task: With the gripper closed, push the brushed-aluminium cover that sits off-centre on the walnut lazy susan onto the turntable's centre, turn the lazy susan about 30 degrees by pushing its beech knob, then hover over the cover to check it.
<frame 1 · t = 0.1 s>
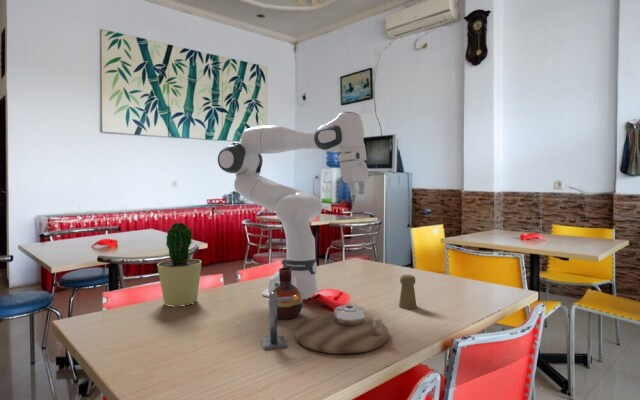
hand: (357, 194, 147), 39 cm above the table, tool pointing down, fingers open, 8 cm apart
vase: (286, 316, 133), on the table
lazy susan: (341, 324, 115), point 3 cm above the table, hinge at 0.0°, touching aluminium cover
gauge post: (273, 344, 110), on the table
olive pawn: (407, 307, 141), on the table
potted cactus: (180, 303, 149), on the table
aluminium cover: (349, 321, 121), point 2 cm above the table, touching lazy susan
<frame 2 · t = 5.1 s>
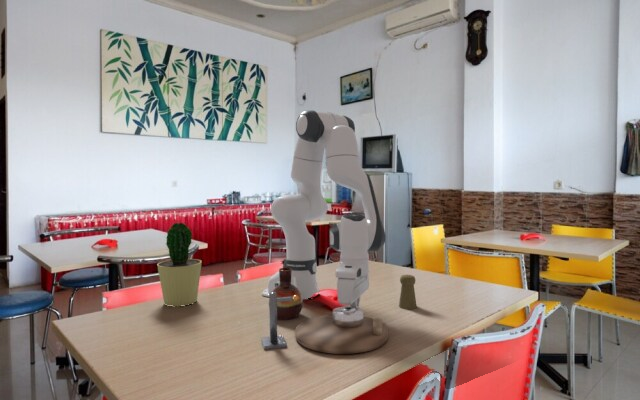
hand: (354, 311, 125), 4 cm above the table, tool pointing down, fingers closed
lazy susan: (341, 324, 115), point 3 cm above the table, hinge at 0.0°
aluminium cover: (348, 322, 120), point 2 cm above the table, touching gripper
everything else where it was.
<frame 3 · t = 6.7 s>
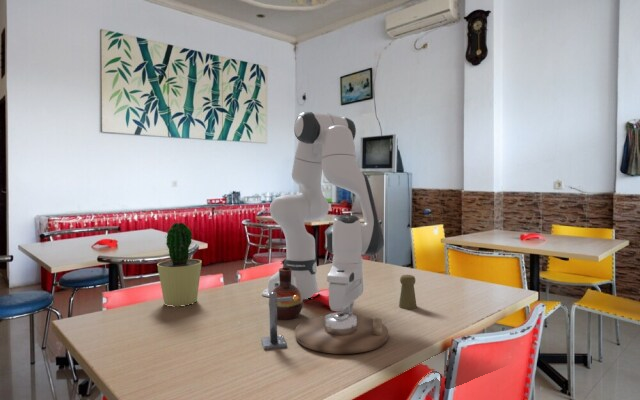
hand: (348, 317, 120), 4 cm above the table, tool pointing down, fingers closed
lazy susan: (341, 324, 115), point 3 cm above the table, hinge at -0.1°, touching aluminium cover
aluminium cover: (340, 329, 114), point 2 cm above the table, touching gripper, lazy susan
everything else where it was.
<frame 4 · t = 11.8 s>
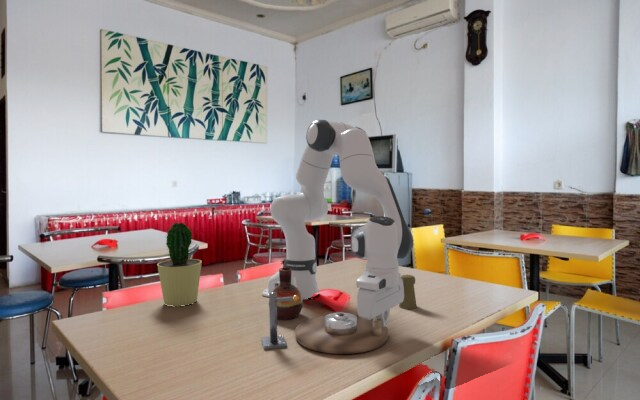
hand: (382, 326, 112), 4 cm above the table, tool pointing down, fingers closed
lazy susan: (341, 324, 115), point 3 cm above the table, hinge at -2.7°, touching aluminium cover, gripper
aluminium cover: (340, 329, 114), point 2 cm above the table, touching lazy susan
everything else where it was.
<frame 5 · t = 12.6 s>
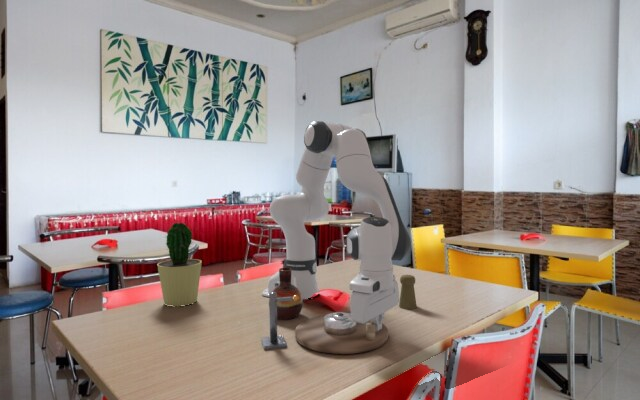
hand: (377, 329, 109), 4 cm above the table, tool pointing down, fingers closed
lazy susan: (341, 324, 115), point 3 cm above the table, hinge at -22.5°, touching aluminium cover, gripper
everything else where it was.
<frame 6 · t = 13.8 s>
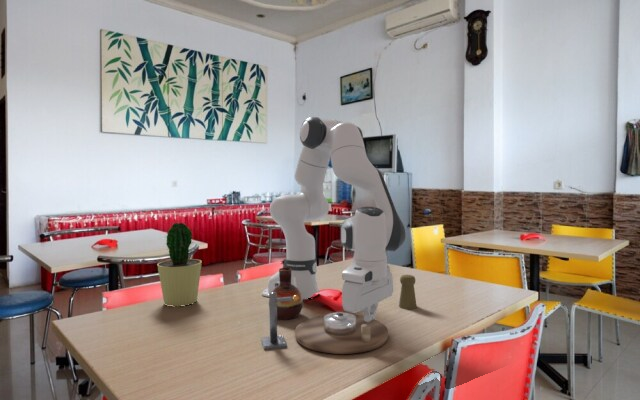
hand: (369, 320, 108), 7 cm above the table, tool pointing down, fingers closed
lazy susan: (341, 324, 115), point 3 cm above the table, hinge at -32.3°, touching aluminium cover
everything else where it was.
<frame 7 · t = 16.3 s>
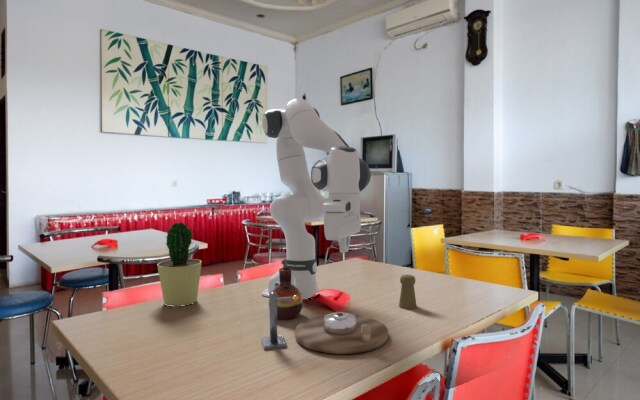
hand: (344, 252, 116), 24 cm above the table, tool pointing down, fingers closed
nothing on the table moved.
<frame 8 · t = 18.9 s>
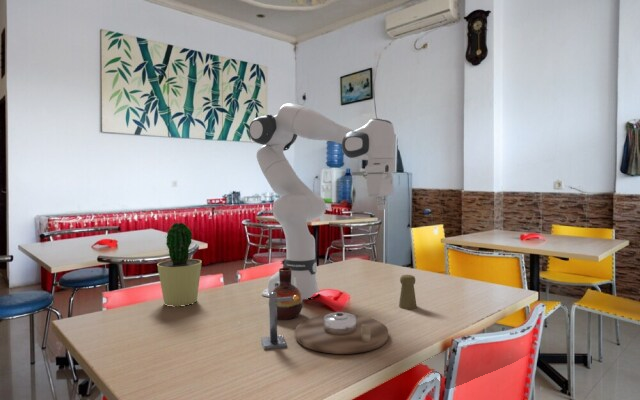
hand: (381, 209, 135), 34 cm above the table, tool pointing down, fingers closed
nothing on the table moved.
at the end: aluminium cover 0.6 cm from the lazy susan (horizontally); lazy susan at -32° (first picture: +0°); aluminium cover tilted 0° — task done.
